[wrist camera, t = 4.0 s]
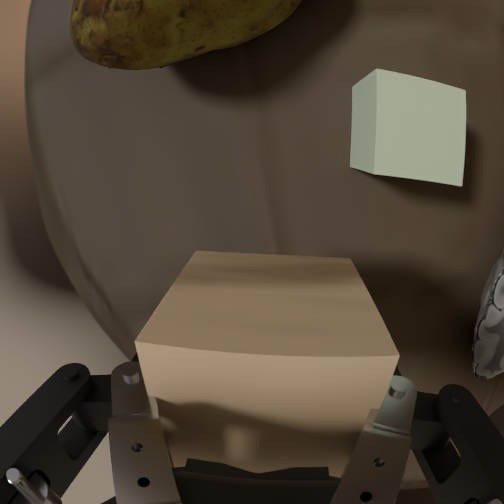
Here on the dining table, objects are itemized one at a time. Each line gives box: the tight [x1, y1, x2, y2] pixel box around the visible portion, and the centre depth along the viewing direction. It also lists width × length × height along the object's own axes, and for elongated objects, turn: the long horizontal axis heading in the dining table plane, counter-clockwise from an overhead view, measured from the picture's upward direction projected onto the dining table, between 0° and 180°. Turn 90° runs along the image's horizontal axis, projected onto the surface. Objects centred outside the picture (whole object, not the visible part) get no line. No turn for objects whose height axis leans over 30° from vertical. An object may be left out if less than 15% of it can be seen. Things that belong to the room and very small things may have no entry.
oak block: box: [135, 251, 400, 478], centre depth 10 cm, size 6×6×6 cm
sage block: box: [350, 69, 466, 186], centre depth 15 cm, size 5×5×5 cm
